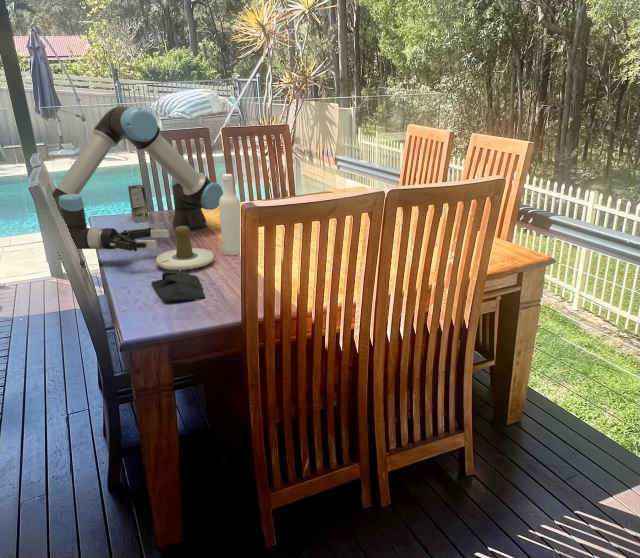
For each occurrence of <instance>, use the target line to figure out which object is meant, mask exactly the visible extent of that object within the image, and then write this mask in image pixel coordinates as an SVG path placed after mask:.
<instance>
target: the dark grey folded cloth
mask: <svg viewBox="0 0 640 558" xmlns="http://www.w3.org/2000/svg"><path fill="white" fill-rule="evenodd" d="M198 278H199V277H198V275H194V274H189V273H186V271H185V272H184V271H179V270H170V269H165V268H164V270H163V272H162V275H161V279H159V280H154V281H151V285H152V286H153V289H154V290H155V291H156V292H157V294H158V295H159V296H160V297H161V299H162V300H163V301H164V302H167V303H171V301H172V302H180V300H181V301H182V300H186V301H196V300H195V299H200V300H202V299H201V298H203V297H205V295H206V294H205V292H204V293H203V290H204V287H203V285H202V283H201V282H200V278H199V279H198ZM202 287H203V288H202ZM204 294H205V295H204ZM203 299H204V298H203Z"/></svg>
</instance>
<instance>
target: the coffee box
mask: <svg viewBox="0 0 640 558" xmlns="http://www.w3.org/2000/svg"><path fill="white" fill-rule="evenodd" d="M127 189H128V195H129V203H130V210H131V216H132V220H133V221H135V222H137V223H145V221H147V222H149V216H148V215H149V214H148V207H147V198H146V190H145V187H144V186H143V185H142V184H136V185H135V184H133V185H128V187H127ZM135 222H134V223H135Z"/></svg>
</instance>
